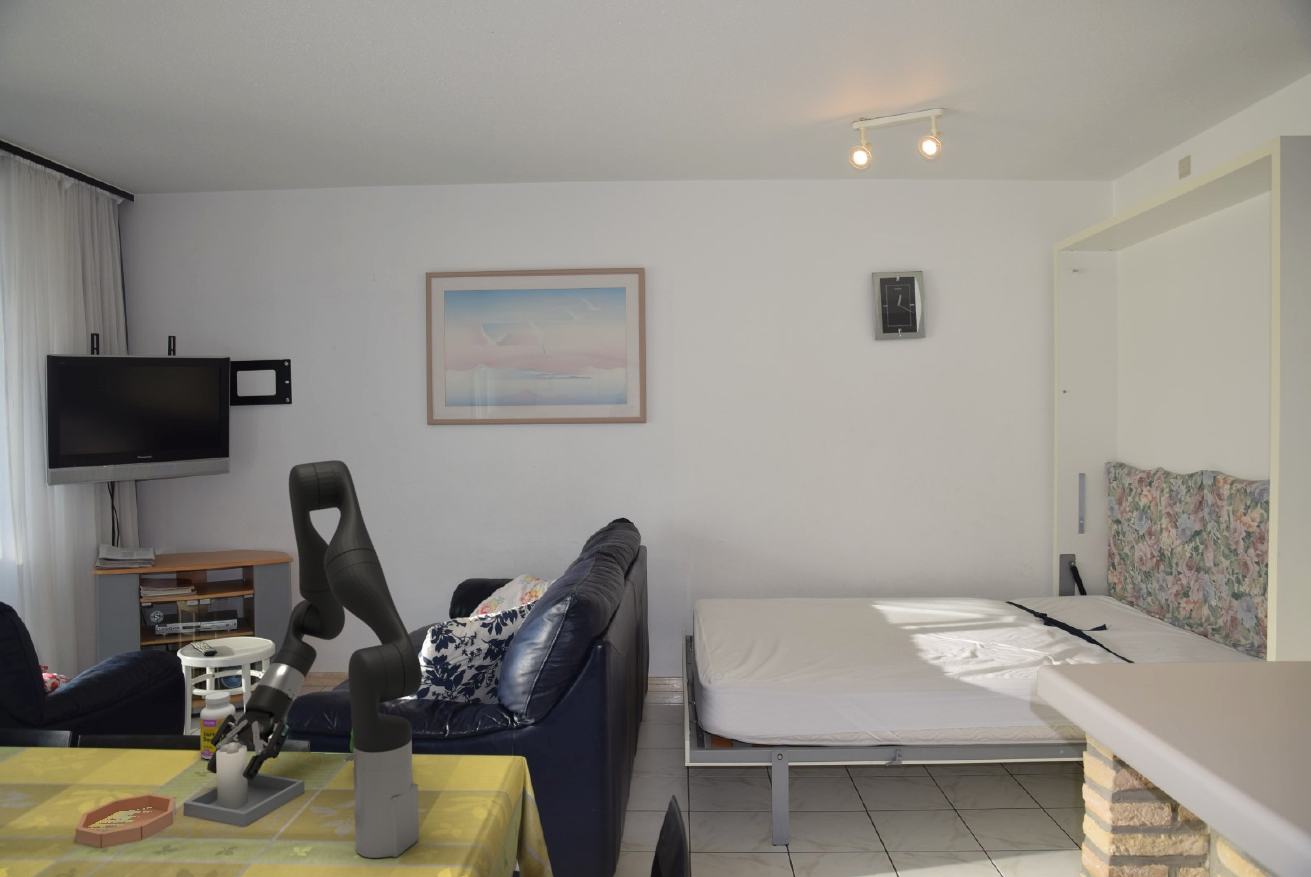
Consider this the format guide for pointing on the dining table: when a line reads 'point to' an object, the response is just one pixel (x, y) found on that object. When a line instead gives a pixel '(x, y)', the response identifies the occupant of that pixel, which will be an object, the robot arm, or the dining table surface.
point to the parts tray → (261, 801)
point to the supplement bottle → (213, 720)
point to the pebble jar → (231, 776)
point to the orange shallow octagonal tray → (141, 825)
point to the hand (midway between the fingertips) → (228, 775)
